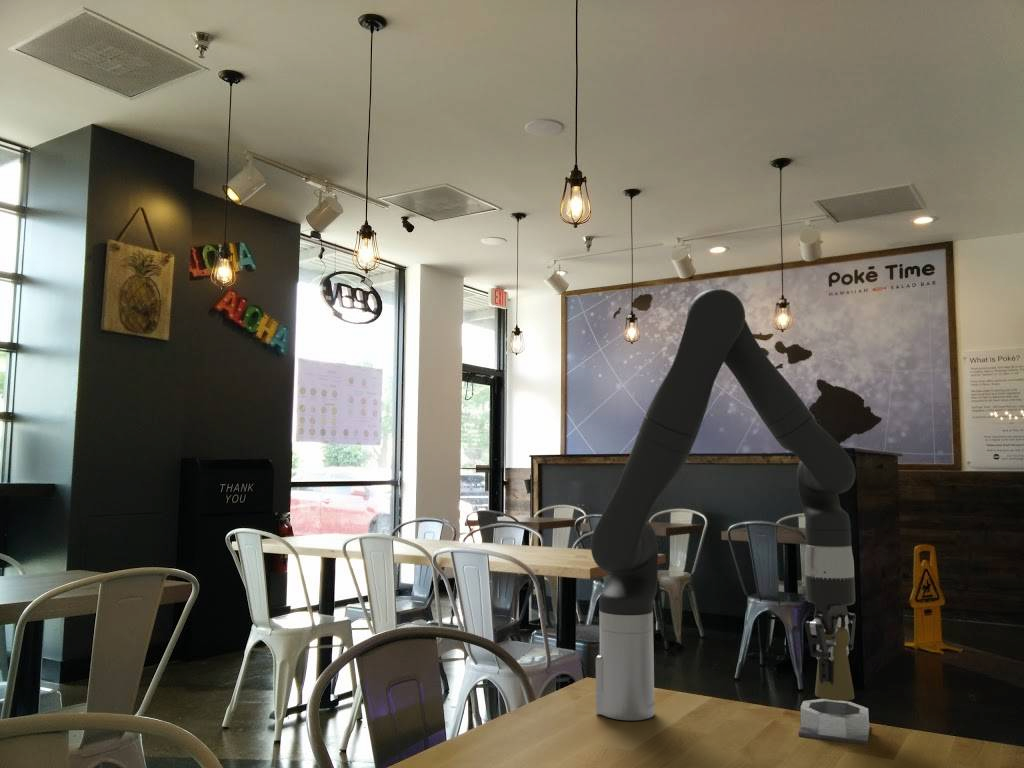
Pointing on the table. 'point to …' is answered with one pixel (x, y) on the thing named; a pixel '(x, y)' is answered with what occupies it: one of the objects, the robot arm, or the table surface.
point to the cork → (837, 672)
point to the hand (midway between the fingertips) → (833, 680)
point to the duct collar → (835, 721)
